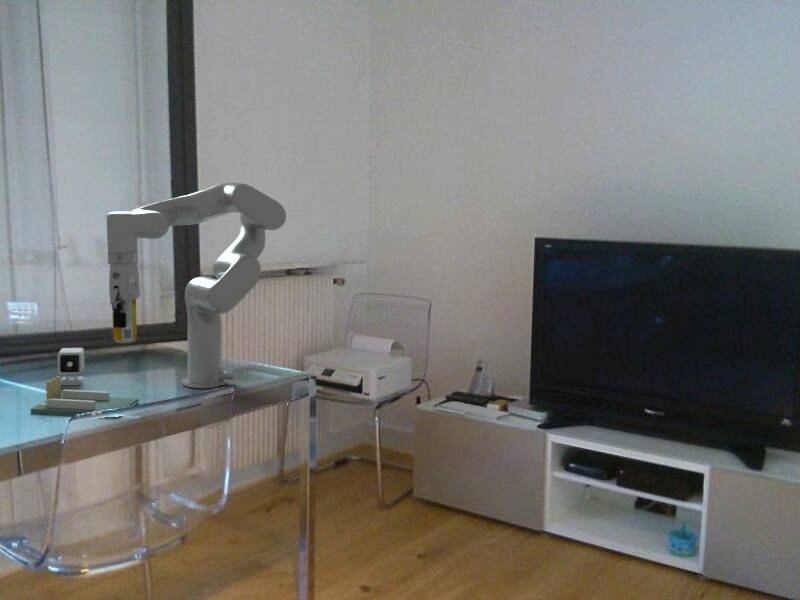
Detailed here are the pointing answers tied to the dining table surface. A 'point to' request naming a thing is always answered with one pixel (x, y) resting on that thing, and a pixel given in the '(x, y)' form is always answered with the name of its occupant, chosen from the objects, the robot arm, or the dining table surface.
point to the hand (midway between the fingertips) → (124, 324)
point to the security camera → (71, 365)
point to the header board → (77, 401)
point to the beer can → (127, 323)
